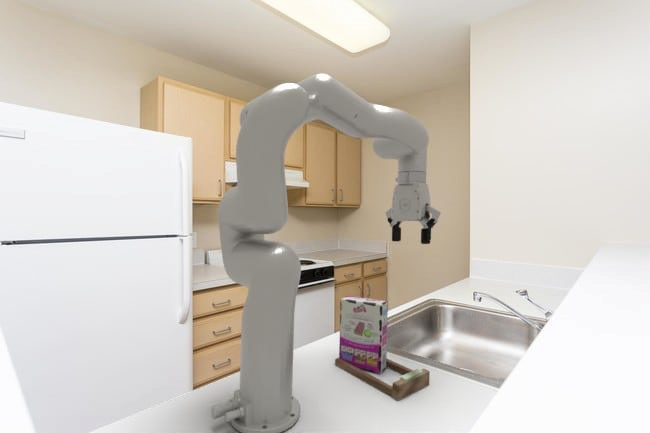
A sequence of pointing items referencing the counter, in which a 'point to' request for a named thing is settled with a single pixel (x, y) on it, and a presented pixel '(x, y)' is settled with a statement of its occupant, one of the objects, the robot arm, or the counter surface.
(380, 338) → the candy bar box
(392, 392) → the wooden box holder
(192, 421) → the counter surface
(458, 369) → the counter surface
